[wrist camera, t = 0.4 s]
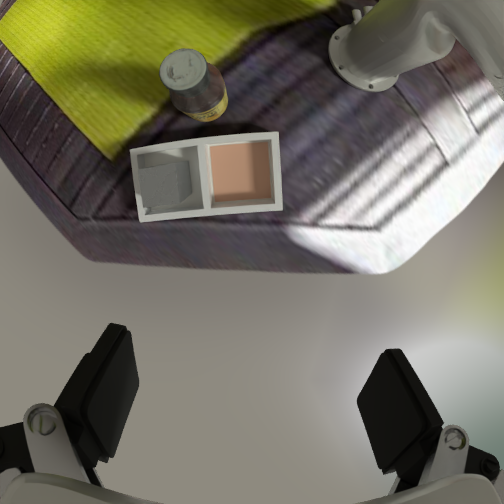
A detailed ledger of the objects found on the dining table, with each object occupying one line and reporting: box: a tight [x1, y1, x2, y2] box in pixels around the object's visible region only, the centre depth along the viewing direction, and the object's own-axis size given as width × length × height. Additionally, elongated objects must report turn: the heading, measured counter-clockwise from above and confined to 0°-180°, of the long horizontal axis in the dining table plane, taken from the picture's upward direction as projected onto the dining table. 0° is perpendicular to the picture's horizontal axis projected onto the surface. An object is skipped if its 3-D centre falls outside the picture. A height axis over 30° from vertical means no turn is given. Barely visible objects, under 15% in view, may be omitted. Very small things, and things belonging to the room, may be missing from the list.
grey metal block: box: [138, 161, 192, 208], centre depth 36 cm, size 5×5×8 cm
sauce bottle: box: [159, 49, 228, 122], centre depth 27 cm, size 7×6×20 cm
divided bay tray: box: [130, 132, 283, 222], centre depth 39 cm, size 21×11×4 cm, turn 94°
